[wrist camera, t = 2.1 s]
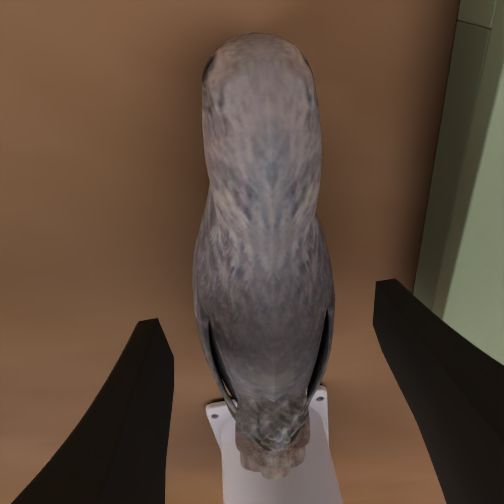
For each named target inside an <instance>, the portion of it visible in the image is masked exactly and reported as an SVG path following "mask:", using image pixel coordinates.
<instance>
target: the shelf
mask: <svg viewBox="0 0 504 504" xmlns="http://www.w3.org/2000/svg"><path fill="white" fill-rule="evenodd" d="M458 20H459V21H458V22H457V26H456V32H455V38H454V44H453V50H452V57H451V63H450V69H449V75H448V81H447V88H446V94H445V100H444V106H443V112H442V118H441V125H440V131H439V137H438V143H437V149H436V156H435V162H434V168H433V174H432V180H431V186H430V193H429V199H428V205H427V211H426V217H425V223H424V230H423V236H422V242H421V248H420V254H419V261H418V267H417V273H416V279H415V285H414V291H413V295H414V296H415V297H416V298H417V299H418V300H420V301H421V302H422V303H423V304H424V305H425V306H426V307H427V308H429V309H430V310H431V311H432V312H433V313H434V314H436V315H437V316H438V317H439V318H440V319H442V320H443V321H444V322H445V323H446V324H448V325H449V326H450V327H451V328H453V329H454V330H455V331H456V332H458V333H459V334H460V335H462V336H463V337H464V338H466V339H467V340H468V341H470V342H471V343H472V344H474V345H475V346H476V347H478V348H479V349H480V350H482V351H483V352H485V353H486V354H488V355H489V356H490V357H492V358H493V359H495V360H496V361H498V362H500V363H501V364H503V365H504V0H461V1H460V7H459V13H458Z"/></svg>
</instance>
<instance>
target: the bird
mask: <svg viewBox="0 0 504 504" xmlns="http://www.w3.org/2000/svg"><path fill="white" fill-rule="evenodd" d="M202 127H203V141H204V154H205V159H206V165H207V171H208V175H209V180H210V186H209V191H208V197H207V202H206V206H205V209H204V213H203V216H202V219H201V223H200V228H199V233H198V237H197V240H196V243H195V247H194V254H193V300H194V310H195V316H196V321H197V326H198V330H199V335H200V340H201V344H202V347H203V351H204V354H205V357H206V360H207V362H208V365H209V368H210V370H211V372H212V374H213V377H214V379H215V381H216V383H217V385H218V387H219V389H220V391H221V393H222V395H223V397H224V399H225V402H226V405H227V407H228V410H229V412H230V414H231V415H232V417H233V418H234V420H235V421H236V423H235V443H236V448H237V449H238V451H239V452H240V462H241V466H242V467H243V468H244V469H246V470H249V471H253V472H261V474H262V476H263V477H264V478H266V479H280V478H284V477H286V476H287V475H288V474H289V471H290V469H291V468H294V467H297V466H298V465H300V464H302V463H303V461H304V458H305V454H306V452H305V446H306V445H307V444H308V443H309V441H310V434H311V432H310V417H309V410H308V407H309V404H310V402H311V400H312V398H313V396H314V394H315V393H316V391H317V389H318V387H319V385H320V383H321V380H322V378H323V375H324V373H325V370H326V367H327V363H328V359H329V354H330V350H331V343H332V337H333V326H334V311H335V291H334V283H333V276H332V270H331V264H330V259H329V254H328V250H327V245H326V241H325V237H324V233H323V230H322V228H321V225H320V222H319V219H318V217H317V214H316V211H315V210H316V205H317V200H318V194H319V187H320V181H321V166H322V142H321V127H320V115H319V108H318V102H317V95H316V89H315V83H314V78H313V74H312V71H311V69H310V66H309V64H308V62H307V60H306V59H305V58H304V57H303V55H302V54H301V53H300V51H299V50H298V49H297V47H296V46H295V45H293V44H291V43H289V42H288V41H286V40H284V39H282V38H281V37H279V36H276V35H270V34H260V33H249V34H245V35H241V36H238V37H235V38H231V39H229V40H228V41H226V42H225V43H223V44H222V46H221V47H220V48H218V49H217V51H216V52H215V53H214V54H213V55H212V56H211V57H210V59H209V60H208V62H207V64H206V66H205V69H204V72H203V76H202ZM222 379H223V380H222ZM223 381H224V383H225V385H226V387H227V388H228V390H229V392H230V393H231V395H232V396H233V398H234V399H235V401H236V402H237V407H236V406H235V404H234V403H233V401H232V399H231V398H230V396H229V395H228V393H227V391H226V389H225V386H224V383H223ZM307 387H308V389H307ZM306 389H307V395H306Z"/></svg>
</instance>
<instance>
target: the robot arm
mask: <svg viewBox="0 0 504 504" xmlns="http://www.w3.org/2000/svg"><path fill="white" fill-rule="evenodd" d="M373 326H374V329H375V332H376V335H377V338H378V341H379V344H380V346H381V349H382V352H383V354H384V356H385V358H386V360H387V362H388V364H389V366H390V368H391V371H392V373H393V375H394V377H395V379H396V381H397V383H398V385H399V387H400V389H401V391H402V393H403V395H404V397H405V399H406V401H407V403H408V405H409V407H410V409H411V411H412V413H413V415H414V417H415V420H416V422H417V424H418V426H419V429H420V431H421V434H422V437H423V439H424V442H425V445H426V447H427V450H428V452H429V455H430V458H431V461H432V463H433V466H434V469H435V472H436V474H437V477H438V480H439V483H440V485H441V488H442V491H443V494H444V497H445V500H446V503H447V504H504V365H503V364H501V363H500V362H498V361H496V360H495V359H493V358H492V357H490V356H489V355H488V354H486V353H485V352H483V351H482V350H480V349H479V348H478V347H476V346H475V345H474V344H472V343H471V342H470V341H468V340H467V339H466V338H464V337H463V336H462V335H460V334H459V333H458V332H456V331H455V330H454V329H453V328H451V327H450V326H449V325H448V324H446V323H445V322H444V321H443V320H442V319H440V318H439V317H438V316H437V315H436V314H434V313H433V312H432V311H431V310H430V309H429V308H427V307H426V306H425V305H424V304H423V303H422V302H421V301H420V300H418V299H417V298H416V297H415V296H414V295H413V294H412V293H411V292H410V291H408V290H407V289H406V288H405V287H404V286H403V285H402V284H401V283H400V282H399V281H398V280H396V279H395V278H394V279H388V280H382V281H376V289H375V301H374V314H373ZM307 389H308V387H307ZM307 389H306V395H307ZM173 392H174V356H173V354H172V351H171V349H170V347H169V344H168V342H167V339H166V337H165V335H164V332H163V330H162V328H161V325H160V323H159V320H158V318H155V319H149V320H143V321H139V322H138V323H137V325H136V327H135V329H134V331H133V333H132V335H131V337H130V339H129V341H128V342H127V344H126V346H125V348H124V350H123V352H122V354H121V356H120V357H119V359H118V361H117V363H116V365H115V366H114V368H113V370H112V372H111V373H110V375H109V377H108V378H107V380H106V382H105V384H104V385H103V387H102V388H101V390H100V391H99V393H98V395H97V396H96V398H95V399H94V401H93V402H92V404H91V406H90V407H89V409H88V410H87V412H86V413H85V414H84V416H83V417H82V419H81V420H80V422H79V423H78V424H77V426H76V427H75V429H74V430H73V431H72V433H71V434H70V435H69V437H68V438H67V439H66V441H65V442H64V443H63V444H62V446H61V447H60V448H59V449H58V451H57V452H56V453H55V454H54V456H53V457H52V458H51V459H50V461H49V462H48V463H47V464H46V465H45V467H44V468H43V469H42V470H41V471H40V472H39V474H38V475H37V476H36V477H35V478H34V479H33V480H32V481H31V482H30V483H29V485H28V486H27V487H26V488H25V489H24V490H23V491H22V492H21V493H20V494H19V495H18V497H17V498H16V499H15V500H14V501H13V502H12V503H11V504H165V468H166V455H167V446H168V437H169V428H170V420H171V411H172V402H173ZM232 401H233V403H234V404H235V406H236V407H237V402H236V401H235V399H233V400H232ZM308 410H309V417H310V432H311V434H310V441H309V443H308V444H307V445H306V446H305V452H306V454H305V458H304V461H303V463H302V464H300V465H298V466H297V467H294V468H291V469H290V471H289V474H288V475H287V476H286V477H284V478H280V479H266V478H264V477H263V476H262V474H261V472H253V471H249V470H246V469H244V468H243V467H242V466H241V462H240V452H239V451H238V449H237V448H236V443H235V423H236V421H235V420H234V418H233V417H232V415H231V414H230V412H229V410H228V407H227V405H226V402H225V401H221V402H215V403H210V404H208V405H207V406H206V414H207V417H208V419H209V422H210V425H211V427H212V430H213V432H214V435H215V437H216V440H217V442H218V445H219V447H220V450H221V453H222V478H223V504H343V501H342V497H341V493H340V489H339V485H338V481H337V477H336V473H335V469H334V465H333V461H332V457H331V453H330V449H329V435H328V405H327V391H326V388H325V387H324V386H322V385H319V387H318V389H317V391H316V393H315V394H314V396H313V398H312V400H311V402H310V404H309V407H308Z"/></svg>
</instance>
